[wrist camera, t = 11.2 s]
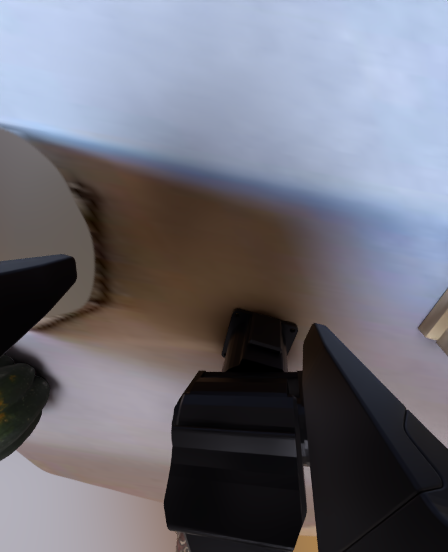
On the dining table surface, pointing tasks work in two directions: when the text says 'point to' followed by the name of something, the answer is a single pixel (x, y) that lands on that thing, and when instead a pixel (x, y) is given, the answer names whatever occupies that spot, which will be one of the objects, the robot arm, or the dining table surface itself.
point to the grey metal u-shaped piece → (437, 323)
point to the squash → (19, 403)
